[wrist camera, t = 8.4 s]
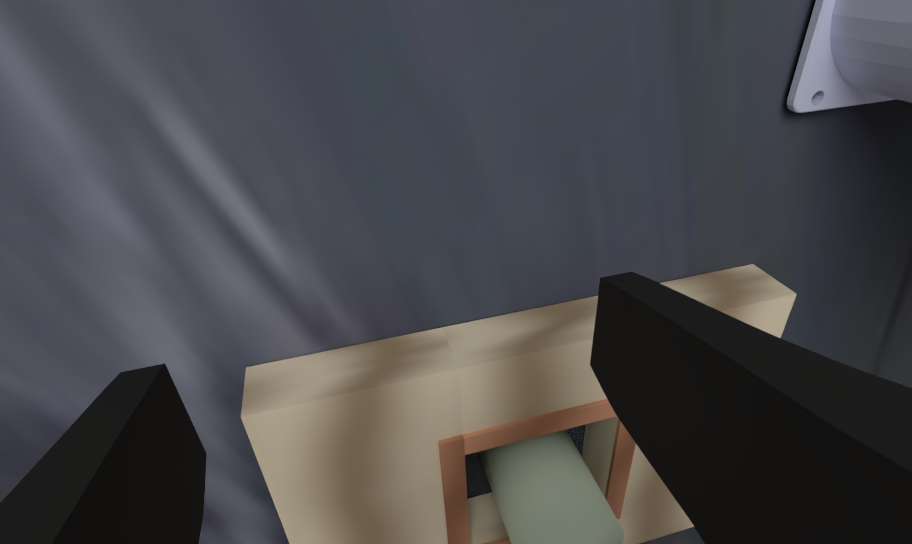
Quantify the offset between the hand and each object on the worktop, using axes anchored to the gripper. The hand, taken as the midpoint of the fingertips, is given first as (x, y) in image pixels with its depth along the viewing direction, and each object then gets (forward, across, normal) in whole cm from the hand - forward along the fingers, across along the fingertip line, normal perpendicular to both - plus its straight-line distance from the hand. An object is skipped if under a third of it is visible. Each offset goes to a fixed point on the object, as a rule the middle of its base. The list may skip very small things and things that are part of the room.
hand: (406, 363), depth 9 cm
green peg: (+9, -6, +15) cm, 19 cm away
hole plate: (+9, -6, +15) cm, 19 cm away
